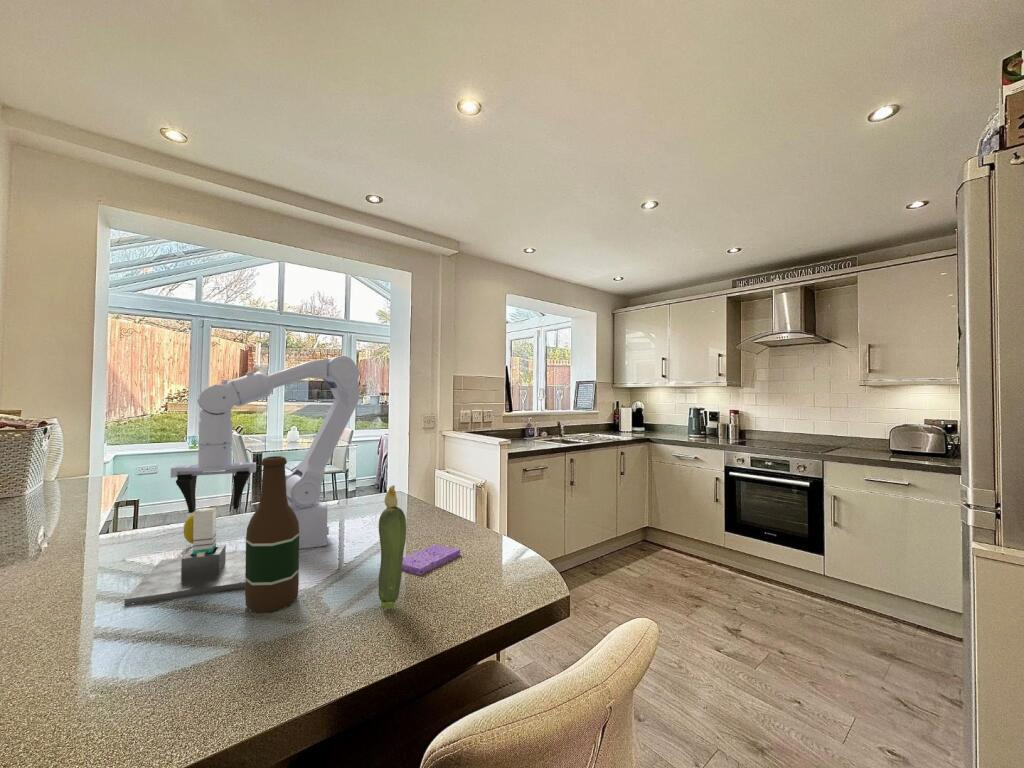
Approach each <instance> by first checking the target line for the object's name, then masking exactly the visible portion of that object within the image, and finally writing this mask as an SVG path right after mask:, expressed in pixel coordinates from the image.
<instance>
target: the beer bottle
mask: <svg viewBox="0 0 1024 768" xmlns="http://www.w3.org/2000/svg"><path fill="white" fill-rule="evenodd" d="M286 464H288V462H287V458H286V457H284V456H281V455H274V456H268V457H267V456H266V457H264V458H262V459H261V462H260V465H261V466H262V477H261V489H260V499H259V503H258V507H257V509H256V510H255V512H254V513H253V515H252V516H251V517H250V520H249V522H248V525H247V527H246V536H245V550H246V570H245V588H244V590H245V591H244V596H245V597H244V599H245V606H246V608H247V609H248V610H249V611H251V613H252V614H270V613H274V612H277V611H280V610H283V609H286V608H289V607H290V606H291V605H292V604H293V603H294V602H295V601H296V600H297V599H298V596H299V585H300V584H299V583H300V581H299V580H300V579H299V578H300V575H299V574H300V549H299V523H298V520H297V517H296V515H295V513H294V511H293V510H292V509H291V508H290V506H289V505H288V501H287V495H286V478H287V476H286Z"/></svg>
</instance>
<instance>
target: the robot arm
mask: <svg viewBox="0 0 1024 768" xmlns="http://www.w3.org/2000/svg"><path fill="white" fill-rule="evenodd" d="M360 374H361V373H360V370H359V369H358V367H357V364H356V363H355V361H354V359H352V358H351V357H350V356H349V357H348V356H346V355H338V356H336V357H328V358H323V359H322V358H321V359H315V360H309V361H306V362H303V363H301V364H298V365H294V366H292V367H289V368H286V369H283V370H280V371H277V372H273V373H270V374H266V373H264V372H261V371H256V372H254V371H253V370H251V371H247V372H245V375H243V376H240V377H237V378H234V379H230V380H227V379H224V380H221V381H220V382H221V384H213V385H210V386H208V387H205V388H204V389H203V390H202V391H200V393H199V395H198V398H197V403H198V406H199V407H200V408H201V409H200V412H199V419H200V420H199V422H198V454H197V455H198V457H197V458H198V459H197V461H198V462H197V463H198V464H189V465H179V466H175V465H174V466H172V467H171V468H170V478H171V479H172V478H174V479H175V478H176V480H175V484H176V486H177V487H178V489H179V490H180V491H181V493H182V495H183V497H184V501H185V503H186V506H187V510H188V513H189V514H194V513H195V512H196V510H197V508H196V506H197V504H196V503H197V502H196V500H197V499H196V488H197V480H198V479H197V478H198V476H209V475H228V474H234V475H233V491H234V492H233V493H234V494H233V506H232V507H233V510H238V509H239V507H240V504H241V503H240V502H241V498H242V494H243V491H244V489H245V487H246V483H247V482H248V480H249V477H250V476H251V475H252V474H253V473H254V474H255V473H256V471H257V462H256V461H255V462H232V460H233V459H232V458H233V456H232V455H233V454H232V453H233V451H232V450H233V421H232V408H233V407H234V406H236V407H242V406H244V405H247V404H250V403H253V402H256V401H259V400H262V399H265V398H268V397H270V396H271V394H272V392H273V390H274V389H276V388H279V387H282V386H285V385H289V384H292V383H295V382H300V381H302V380H305V379H315V380H321V379H322V381H323V382H324V383H325V384H326V385H327V386H328V387H329V389H330V391H331V394H332V396H333V398H334V400H333V402H332V403H331V406H330V408H329V409H328V411H327V414H326V415H325V417H324V419H323V421H322V423H321V424H320V427H319V429H318V431H317V433H316V434H315V437H314V438H313V440H312V442H311V444H310V446H309V448H308V449H307V452H306V454H305V456H304V457H303V459H302V460H301V461H300V462H299V463H298V464H297V465H296V467H295V468H294V470H293V471H292V473H291V474H289V475H288V476H286V495H287V501H288V505H289V506H290V508H291V509H292V510H293V511H294V513H295V515H296V517H297V520H298V523H299V550H301V549H309V548H310V549H311V548H318V547H326V546H327V545H328V536H329V534H330V526H328V502H319V499H320V497H321V494H322V483H323V481H324V479H325V470H326V469H325V468H326V466H327V465H328V463H329V460H330V459H331V456H332V455H333V452H334V451H335V449H336V447H337V445H338V442H339V441H340V439H341V437H342V435H343V433H344V430H345V429H346V427H347V425H348V423H349V421H350V419H351V417H352V415H353V413H354V411H355V409H356V407H357V405H358V403H359V402H360V401H359V400H360V386H359V377H360Z"/></svg>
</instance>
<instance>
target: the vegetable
mask: <svg viewBox="0 0 1024 768" xmlns="http://www.w3.org/2000/svg"><path fill="white" fill-rule="evenodd" d="M396 492H397V491H396V488H395V485H391V486H389V487H388V491H387V492H386V494H385V497H384V505H385V506H386V508H385V509H384V510H383V511H382V512H381V514H380V516H379V520H378V534H379V535H378V536H379V542H380V543H379V545H380V565H379V566H380V567H379V571H378V572H379V574H378V598H379V600H380V602H381V603H380V605H381V609H382V611H385V610H386V609H392V608H395V606H396V601H397V600H398V598H399V595H400V589H401V583H402V575H403V570H402V562H403V558H404V553H405V552H404V551H405V545H406V541H407V519H406V515H405V513H404V511H403V510H402V509H401V507H398V497H397V493H396Z"/></svg>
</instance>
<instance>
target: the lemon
mask: <svg viewBox="0 0 1024 768" xmlns="http://www.w3.org/2000/svg"><path fill="white" fill-rule="evenodd" d="M193 520H194V513H191V515H189V516H188V517H187V519H186V520H185V523H184V526H183V536H184V538H185V540H186V542H188V543H189V544H192V545H193Z"/></svg>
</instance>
